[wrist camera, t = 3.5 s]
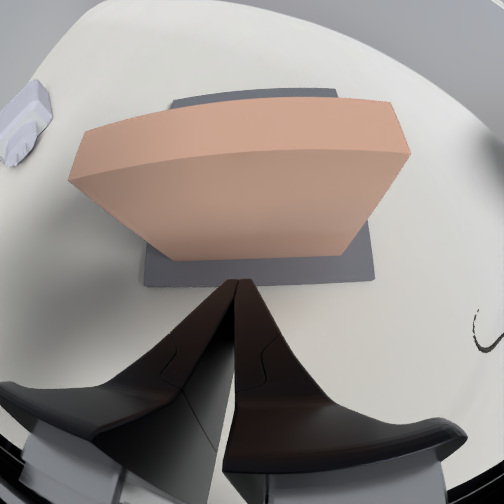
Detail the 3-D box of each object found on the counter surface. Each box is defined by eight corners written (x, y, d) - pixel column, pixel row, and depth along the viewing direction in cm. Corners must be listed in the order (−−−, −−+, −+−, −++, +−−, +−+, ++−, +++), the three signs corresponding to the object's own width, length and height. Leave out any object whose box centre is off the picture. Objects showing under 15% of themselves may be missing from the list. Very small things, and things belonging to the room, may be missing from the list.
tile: (340, 255, 16) (410, 153, 6) (173, 261, 17) (67, 180, 7) (336, 218, 16) (387, 96, 7) (176, 226, 17) (87, 125, 8)
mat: (371, 280, 16) (374, 278, 15) (147, 286, 17) (143, 285, 16) (334, 93, 20) (335, 88, 20) (175, 104, 21) (173, 100, 21)
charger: (10, 196, 22) (9, 136, 26) (60, 142, 23) (50, 95, 27) (-16, 179, 17) (-8, 120, 22) (36, 118, 18) (35, 76, 22)
